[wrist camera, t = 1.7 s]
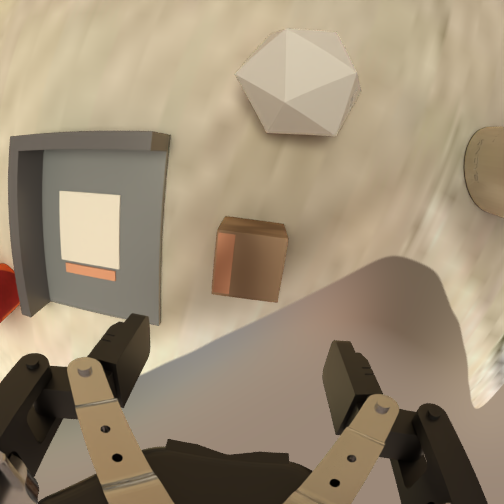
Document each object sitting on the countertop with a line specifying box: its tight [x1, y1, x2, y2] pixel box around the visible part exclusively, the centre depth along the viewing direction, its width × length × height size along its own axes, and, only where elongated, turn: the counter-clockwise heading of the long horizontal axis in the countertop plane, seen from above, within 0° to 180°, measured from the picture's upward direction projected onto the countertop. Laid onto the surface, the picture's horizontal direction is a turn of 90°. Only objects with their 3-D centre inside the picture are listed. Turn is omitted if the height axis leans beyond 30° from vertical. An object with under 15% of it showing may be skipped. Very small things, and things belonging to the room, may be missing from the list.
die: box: [235, 28, 361, 137], centre depth 19 cm, size 8×9×10 cm
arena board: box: [8, 131, 171, 326], centre depth 25 cm, size 15×18×5 cm
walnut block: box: [212, 216, 288, 302], centre depth 25 cm, size 5×5×5 cm
